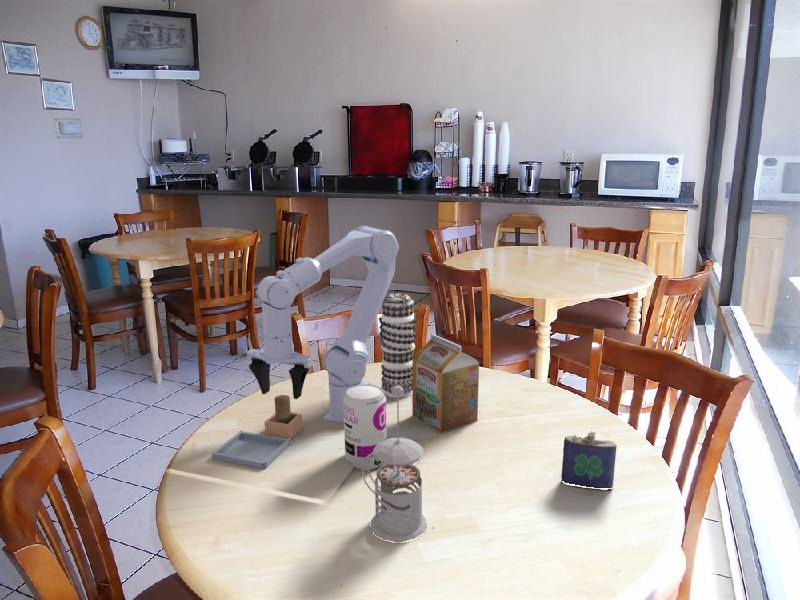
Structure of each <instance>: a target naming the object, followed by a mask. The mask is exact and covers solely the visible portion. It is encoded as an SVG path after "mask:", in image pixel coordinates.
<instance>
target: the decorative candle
mask: <svg viewBox="0 0 800 600" xmlns="http://www.w3.org/2000/svg"><path fill="white" fill-rule="evenodd" d="M414 303H415V300H413V299H412V298H411V297H410V295H408V294H406V293H401V292H395V293H394V292H393V293H389V294H386V295H385V298H384V300H383V303H382V305H381V307H382V313H381V317H379V318H378V321H379V323H380V325H379V329H380V332H379V336H380V337H381V339H380V345H381V346H380V347H381V348H380V349H381V350H382V359H381V361H382V362H381V363H382V364H381V365H380V367H381V375H382V376H381V379H380V380H381V389H382V391H383V394H384V395H385V397H387V398H388V397H389V398H393V399H394V398H395V399H397V395H393V394H392V388H393V387H394V386H401V387H402V388H403V394H402V395H398V397H399V399H403V398H408V397H410V396H411V397H412V359H413V357H414V350H415V348H416V345H415V343H416V341H417V339H416V338H415V337H416V335H417V333H416V331H414V330H415V329H416V328H418V326H417V324H415V323H417V321H418V319H417V318H416V317H415V313H414Z"/></svg>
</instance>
